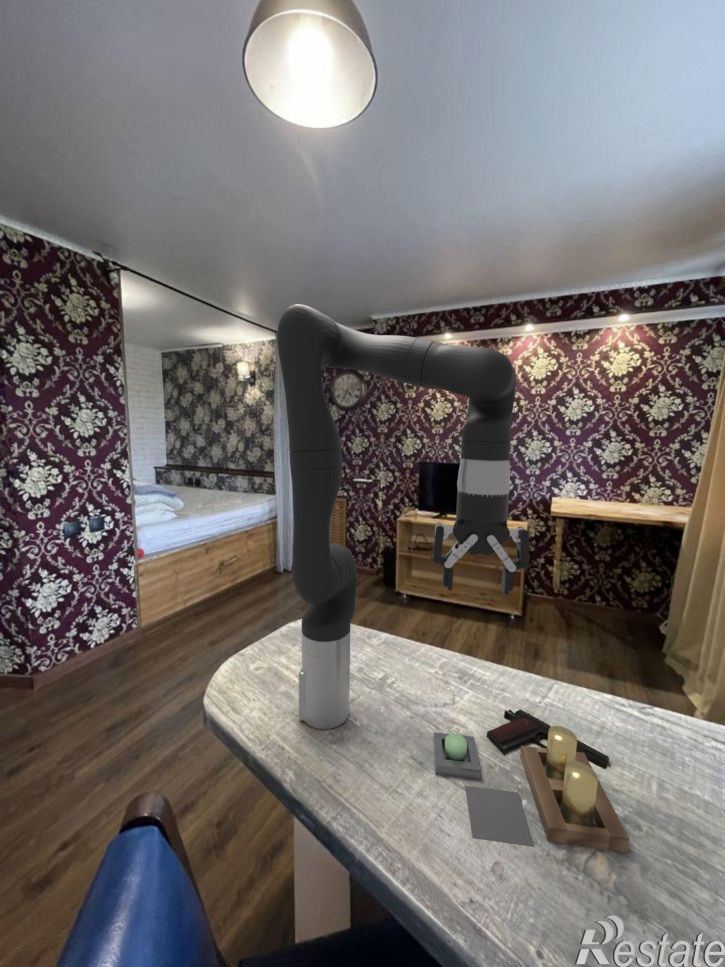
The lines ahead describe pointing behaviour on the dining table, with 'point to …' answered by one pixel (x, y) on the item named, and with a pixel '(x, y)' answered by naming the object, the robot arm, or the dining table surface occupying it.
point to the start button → (455, 747)
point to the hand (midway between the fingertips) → (477, 590)
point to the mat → (497, 816)
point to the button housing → (456, 768)
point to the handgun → (533, 736)
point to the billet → (579, 794)
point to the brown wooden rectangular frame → (552, 820)
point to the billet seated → (559, 751)
